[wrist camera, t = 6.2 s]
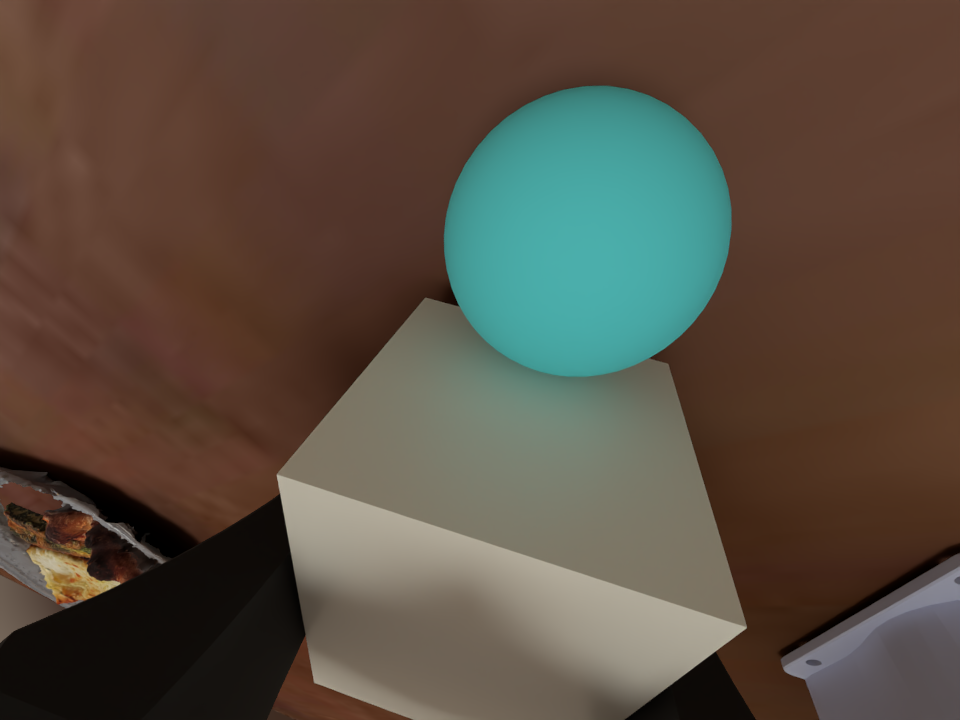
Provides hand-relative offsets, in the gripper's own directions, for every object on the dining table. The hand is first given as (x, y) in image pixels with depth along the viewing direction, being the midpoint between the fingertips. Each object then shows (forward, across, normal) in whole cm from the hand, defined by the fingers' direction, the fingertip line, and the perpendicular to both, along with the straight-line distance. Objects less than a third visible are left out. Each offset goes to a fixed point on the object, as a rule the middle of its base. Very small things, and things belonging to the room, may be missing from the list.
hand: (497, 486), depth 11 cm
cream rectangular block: (+2, 0, 0) cm, 2 cm away
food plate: (+4, +26, +26) cm, 37 cm away
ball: (+1, 0, -7) cm, 7 cm away
